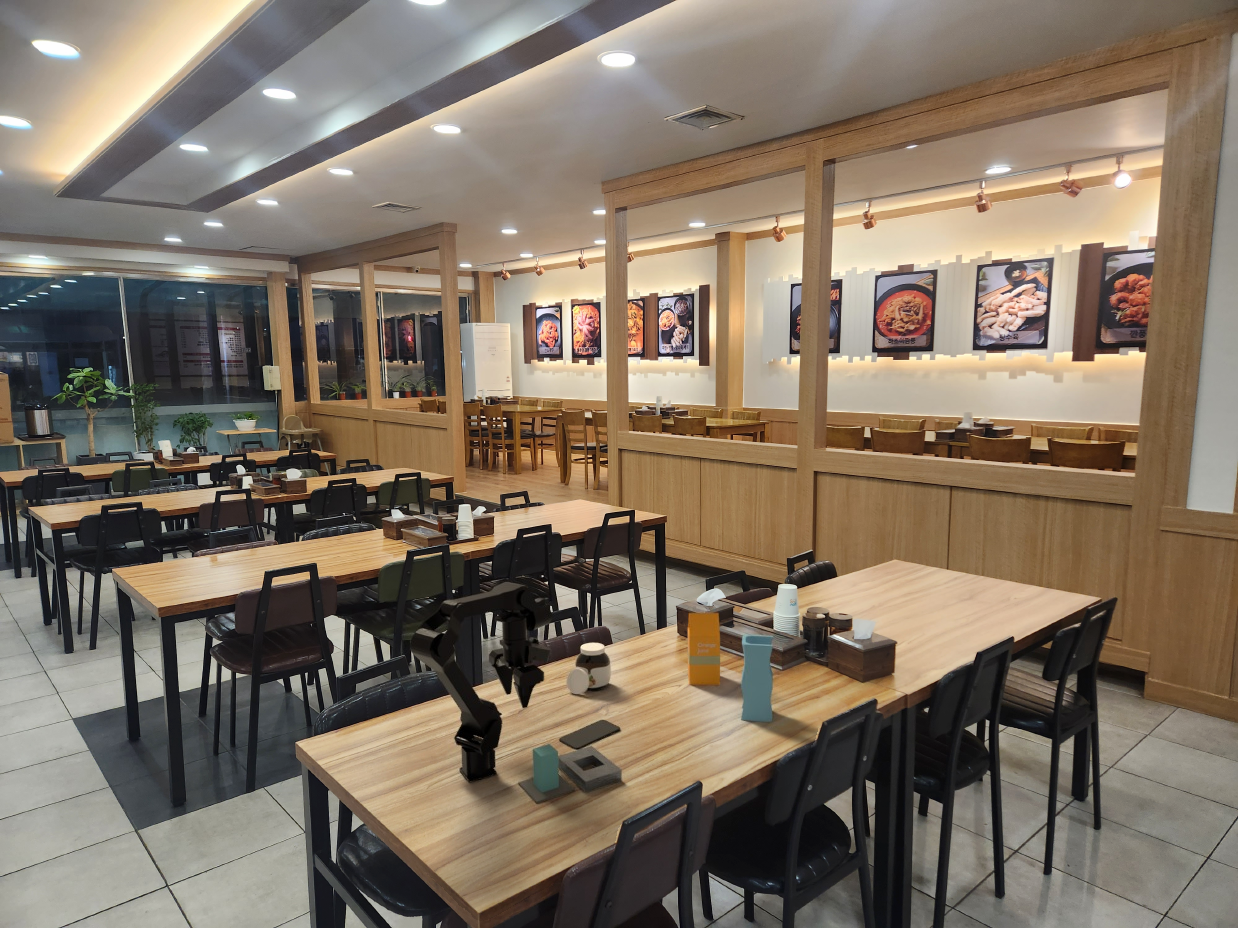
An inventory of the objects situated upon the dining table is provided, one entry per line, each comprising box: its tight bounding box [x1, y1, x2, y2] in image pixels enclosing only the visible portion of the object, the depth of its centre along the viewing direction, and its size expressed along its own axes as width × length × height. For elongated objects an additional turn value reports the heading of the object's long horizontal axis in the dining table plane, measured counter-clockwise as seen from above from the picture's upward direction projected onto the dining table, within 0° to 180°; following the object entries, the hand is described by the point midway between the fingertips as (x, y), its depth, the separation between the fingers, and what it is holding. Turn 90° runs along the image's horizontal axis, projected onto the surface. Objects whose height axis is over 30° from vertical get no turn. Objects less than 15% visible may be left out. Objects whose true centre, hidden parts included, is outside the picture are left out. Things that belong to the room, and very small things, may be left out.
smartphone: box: [558, 719, 621, 751], centre depth 186 cm, size 7×1×15 cm
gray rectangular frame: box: [558, 745, 623, 794], centre depth 167 cm, size 9×13×2 cm
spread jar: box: [565, 642, 612, 695], centre depth 213 cm, size 12×11×12 cm
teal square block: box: [532, 743, 560, 792], centre depth 161 cm, size 4×4×8 cm
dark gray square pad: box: [517, 774, 576, 804], centre depth 162 cm, size 9×9×1 cm
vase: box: [740, 634, 774, 723], centre depth 195 cm, size 8×8×20 cm
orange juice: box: [687, 612, 721, 686], centre depth 218 cm, size 8×9×20 cm
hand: (516, 700), depth 177 cm, fingers open, 9 cm apart
